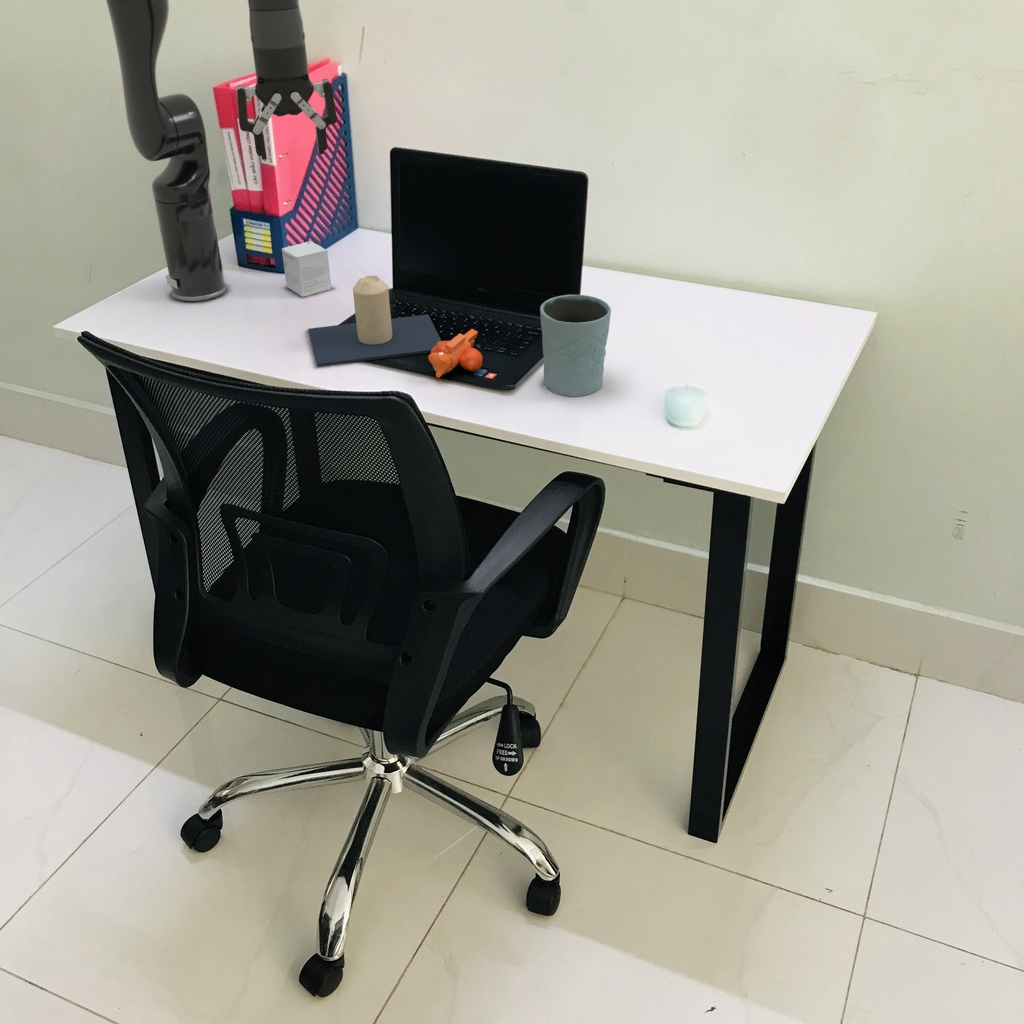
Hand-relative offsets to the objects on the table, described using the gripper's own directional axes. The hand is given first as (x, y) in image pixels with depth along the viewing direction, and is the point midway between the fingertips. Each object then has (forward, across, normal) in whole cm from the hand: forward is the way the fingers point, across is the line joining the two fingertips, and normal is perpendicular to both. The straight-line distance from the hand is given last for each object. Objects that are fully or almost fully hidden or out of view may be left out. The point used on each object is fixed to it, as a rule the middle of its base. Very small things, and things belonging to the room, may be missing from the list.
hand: (292, 155), depth 169 cm
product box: (+28, -1, -18) cm, 34 cm away
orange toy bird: (+28, -20, +22) cm, 41 cm away
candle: (+28, -9, +8) cm, 30 cm away
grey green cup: (+28, -35, +32) cm, 55 cm away
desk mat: (+28, -9, +8) cm, 30 cm away
